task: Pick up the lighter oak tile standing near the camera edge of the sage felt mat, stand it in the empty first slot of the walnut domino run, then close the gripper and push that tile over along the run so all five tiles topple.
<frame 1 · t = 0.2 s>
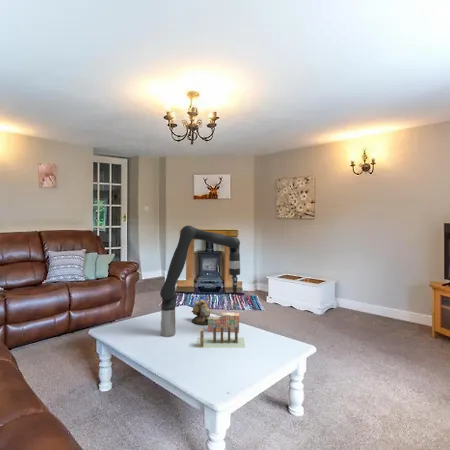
hand: (234, 291, 217), 29 cm above the table, fingers open, 8 cm apart
domino 4: (229, 341, 204), resting on mat
domino 5: (236, 341, 204), resting on mat
stack of blocks: (223, 331, 224), on the table
mat: (220, 343, 203), on the table
domino 2: (214, 341, 204), resting on mat
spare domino: (202, 345, 198), resting on mat
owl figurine: (201, 322, 243), on the table
domino 3: (221, 341, 204), resting on mat
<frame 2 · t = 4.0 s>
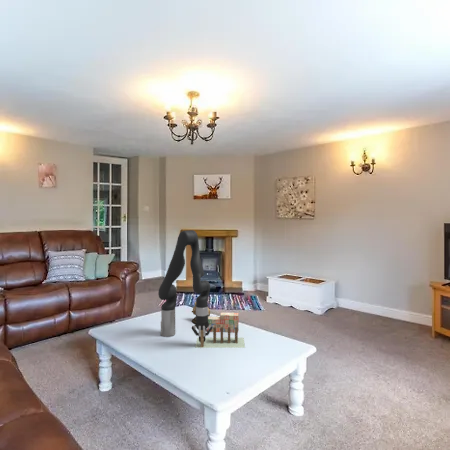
hand: (202, 342, 198), 3 cm above the table, fingers closed on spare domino, 1 cm apart
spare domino: (202, 345, 198), resting on mat, touching gripper
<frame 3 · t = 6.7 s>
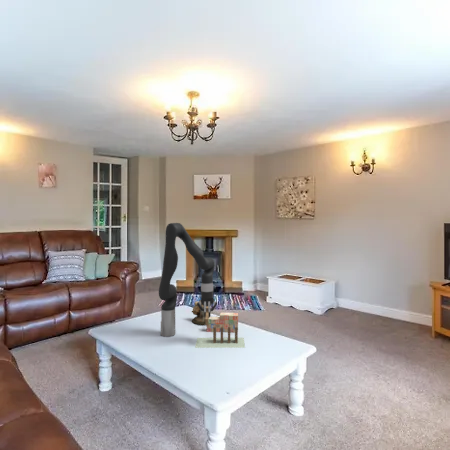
hand: (207, 317, 203), 16 cm above the table, fingers closed on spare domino, 1 cm apart
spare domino: (206, 322, 198), point 15 cm above the table, tilted 65°, touching gripper
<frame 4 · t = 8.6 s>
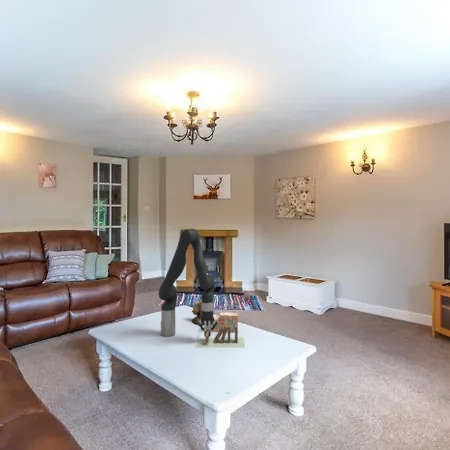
hand: (207, 336, 203), 4 cm above the table, fingers closed on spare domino, 1 cm apart
domino 2: (215, 341, 204), point 1 cm above the table, tilted 33°, touching mat
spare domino: (206, 339, 197), point 4 cm above the table, tilted 81°, touching gripper
domino 3: (222, 341, 204), point 1 cm above the table, tilted 17°
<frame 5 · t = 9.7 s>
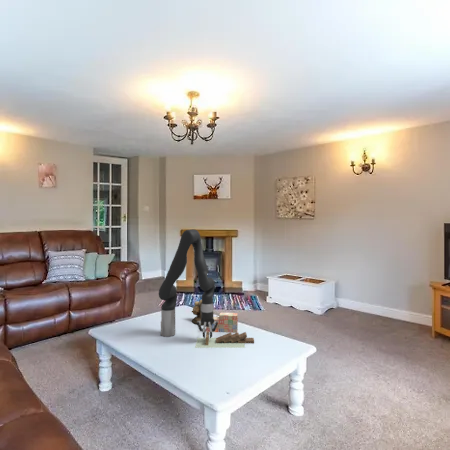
hand: (207, 337, 204), 3 cm above the table, fingers open, 3 cm apart
domino 4: (231, 340, 204), point 1 cm above the table, tilted 68°, touching domino 3, domino 5
domino 5: (237, 340, 204), point 1 cm above the table, tilted 90°, touching domino 4, mat
domino 2: (216, 340, 204), point 1 cm above the table, tilted 69°, touching domino 3, mat
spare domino: (206, 341, 198), point 3 cm above the table, tilted 90°, touching mat
domino 3: (224, 340, 204), point 1 cm above the table, tilted 68°, touching domino 2, domino 4, mat
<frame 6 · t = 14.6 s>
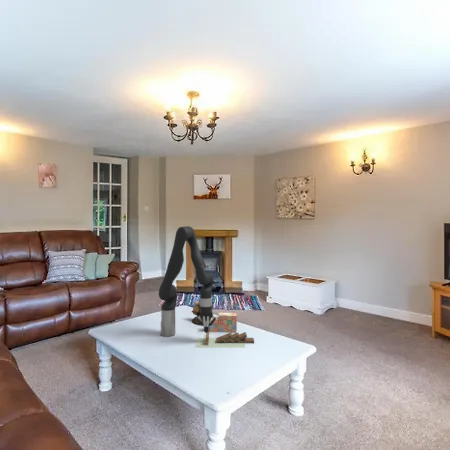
hand: (206, 332, 203), 7 cm above the table, fingers closed
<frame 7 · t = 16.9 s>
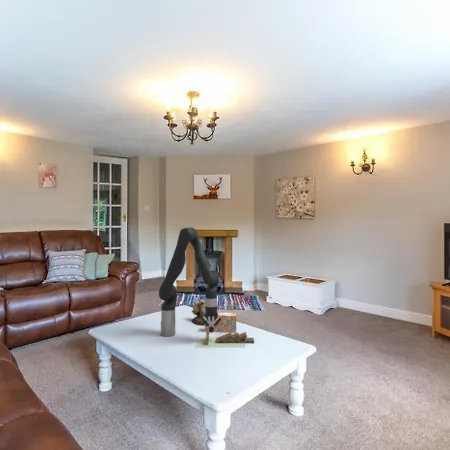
hand: (211, 332, 203), 6 cm above the table, fingers closed
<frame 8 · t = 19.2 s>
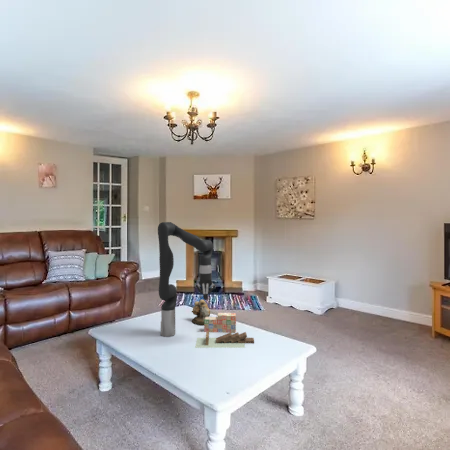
hand: (205, 299, 203), 27 cm above the table, fingers closed
at the end: domino 5 tilted 90°; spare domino tilted 90°; the gripper is holding nothing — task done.
